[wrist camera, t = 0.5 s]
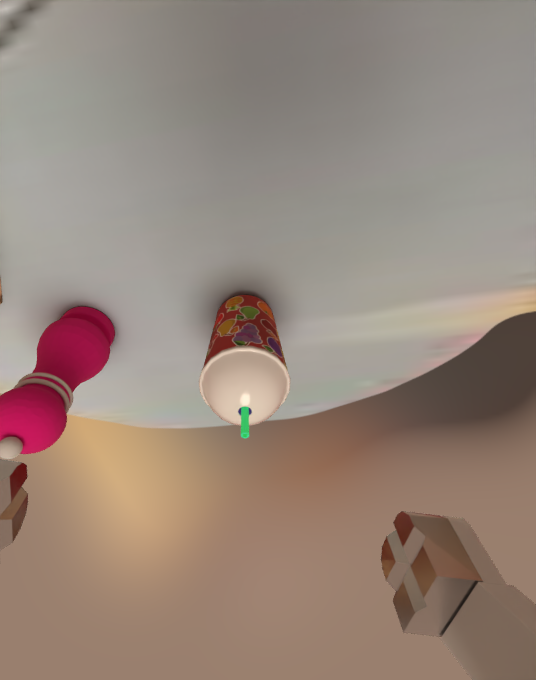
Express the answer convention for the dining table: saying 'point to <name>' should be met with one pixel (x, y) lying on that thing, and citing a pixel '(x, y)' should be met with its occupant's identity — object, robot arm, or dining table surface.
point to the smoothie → (244, 364)
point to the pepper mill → (54, 381)
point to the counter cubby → (0, 293)
